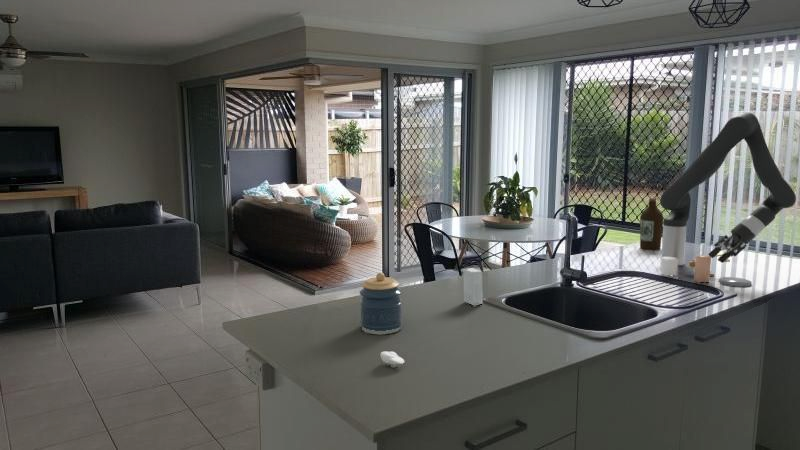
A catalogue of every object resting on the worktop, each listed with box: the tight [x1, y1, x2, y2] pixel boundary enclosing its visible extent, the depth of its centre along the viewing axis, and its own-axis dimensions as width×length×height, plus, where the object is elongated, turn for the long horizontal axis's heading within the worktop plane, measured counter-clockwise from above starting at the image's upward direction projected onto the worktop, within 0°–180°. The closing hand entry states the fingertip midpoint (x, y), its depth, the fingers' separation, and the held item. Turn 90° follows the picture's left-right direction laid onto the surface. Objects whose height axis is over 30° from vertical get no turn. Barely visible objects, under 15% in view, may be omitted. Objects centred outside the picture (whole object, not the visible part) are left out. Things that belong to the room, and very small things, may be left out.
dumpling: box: [380, 351, 405, 365], centre depth 152 cm, size 7×5×4 cm
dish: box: [718, 276, 752, 288], centre depth 228 cm, size 11×11×1 cm
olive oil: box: [639, 198, 664, 251], centre depth 295 cm, size 11×11×25 cm
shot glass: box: [659, 256, 679, 276], centre depth 243 cm, size 7×7×7 cm
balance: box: [685, 252, 731, 277], centre depth 241 cm, size 5×16×9 cm, turn 78°
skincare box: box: [462, 267, 484, 305], centre depth 205 cm, size 6×4×12 cm
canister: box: [359, 272, 403, 331], centre depth 180 cm, size 13×13×18 cm
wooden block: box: [693, 254, 712, 283], centre depth 231 cm, size 5×5×10 cm
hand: (715, 258), depth 230 cm, fingers open, 8 cm apart
